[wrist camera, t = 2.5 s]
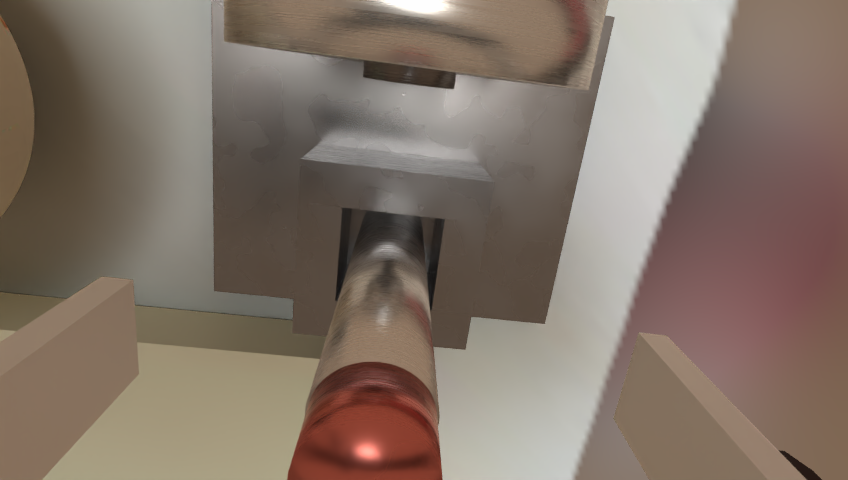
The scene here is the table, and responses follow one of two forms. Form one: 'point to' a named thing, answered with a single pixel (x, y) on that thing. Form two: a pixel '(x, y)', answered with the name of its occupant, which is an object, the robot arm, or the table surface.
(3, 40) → the bowl
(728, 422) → the robot arm
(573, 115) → the block
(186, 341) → the tray
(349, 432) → the pin
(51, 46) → the table surface
